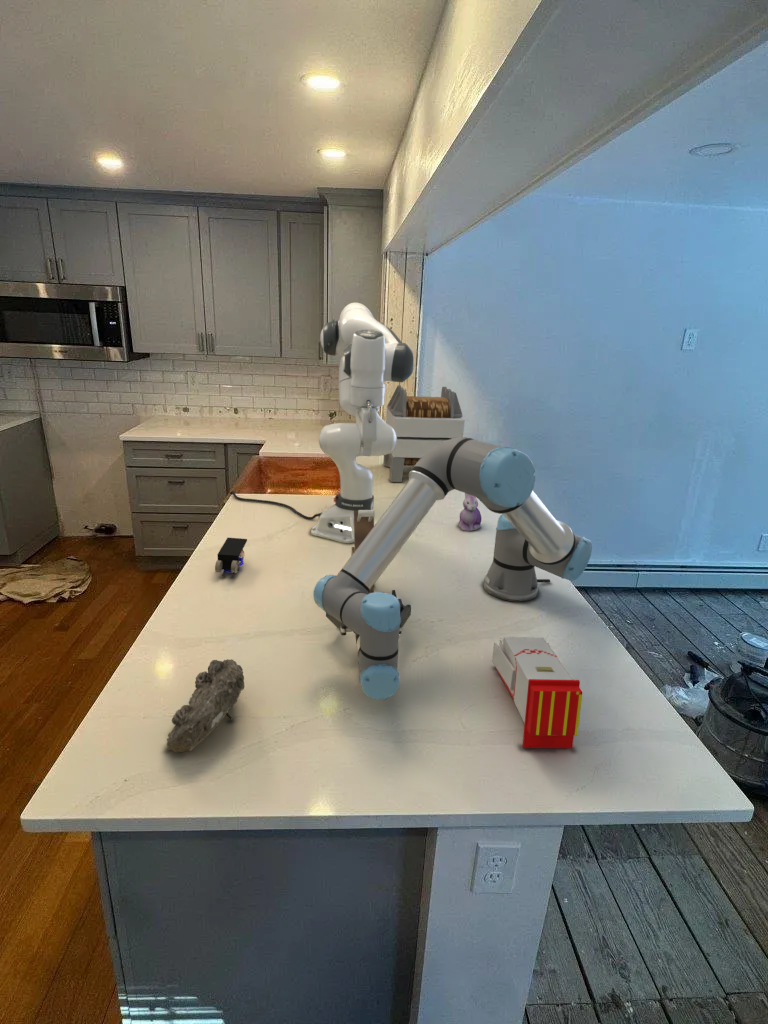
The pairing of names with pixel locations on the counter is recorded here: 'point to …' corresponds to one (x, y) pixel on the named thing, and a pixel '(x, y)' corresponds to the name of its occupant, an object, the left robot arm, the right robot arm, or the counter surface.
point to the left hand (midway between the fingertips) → (365, 450)
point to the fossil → (206, 705)
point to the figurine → (470, 514)
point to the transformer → (420, 426)
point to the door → (362, 525)
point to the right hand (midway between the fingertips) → (366, 594)
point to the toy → (539, 691)
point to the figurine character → (230, 556)
